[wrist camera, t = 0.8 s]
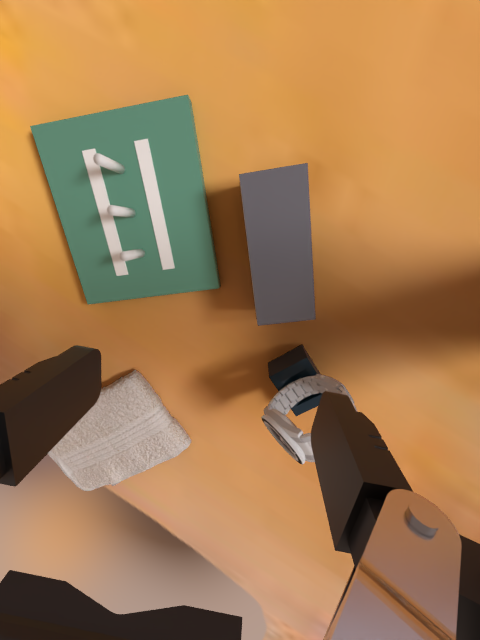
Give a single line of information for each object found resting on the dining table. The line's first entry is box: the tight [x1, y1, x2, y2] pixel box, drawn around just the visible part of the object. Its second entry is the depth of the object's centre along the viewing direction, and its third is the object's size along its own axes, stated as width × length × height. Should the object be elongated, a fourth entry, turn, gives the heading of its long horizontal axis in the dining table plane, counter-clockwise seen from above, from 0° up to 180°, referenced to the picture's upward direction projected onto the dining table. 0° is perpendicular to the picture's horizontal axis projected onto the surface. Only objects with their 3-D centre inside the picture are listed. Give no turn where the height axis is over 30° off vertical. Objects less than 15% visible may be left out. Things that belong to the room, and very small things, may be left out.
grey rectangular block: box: [239, 163, 316, 326], centre depth 24 cm, size 12×5×5 cm, turn 8°
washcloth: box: [48, 370, 191, 491], centre depth 34 cm, size 12×18×3 cm, turn 121°
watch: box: [262, 345, 357, 465], centre depth 25 cm, size 6×8×11 cm
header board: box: [30, 95, 221, 304], centre depth 24 cm, size 14×16×5 cm
